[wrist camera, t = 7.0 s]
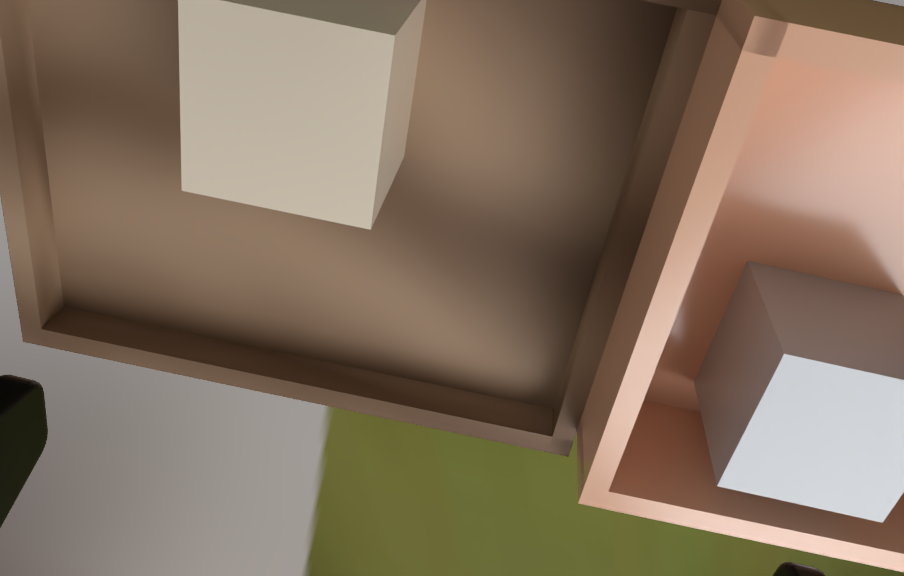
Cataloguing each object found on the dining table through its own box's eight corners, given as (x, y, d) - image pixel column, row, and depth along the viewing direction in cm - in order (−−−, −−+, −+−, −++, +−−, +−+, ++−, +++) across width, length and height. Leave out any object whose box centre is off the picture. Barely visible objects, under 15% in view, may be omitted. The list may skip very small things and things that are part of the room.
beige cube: (404, 156, 20) (370, 229, 16) (247, 124, 20) (181, 190, 16) (428, -10, 18) (395, 35, 14) (252, -45, 18) (177, -9, 14)
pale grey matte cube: (834, 412, 22) (882, 523, 19) (694, 381, 22) (716, 486, 19) (903, 294, 20) (971, 395, 17) (747, 260, 20) (783, 353, 17)
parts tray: (568, 415, 24) (568, 456, 23) (56, 307, 24) (23, 341, 23) (712, -32, 17) (727, -16, 16) (-3, -175, 17) (-57, -173, 16)
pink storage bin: (908, 459, 23) (975, 587, 20) (576, 389, 24) (578, 503, 20) (1170, 59, 17) (1344, 134, 13) (712, -32, 17) (754, 15, 13)
